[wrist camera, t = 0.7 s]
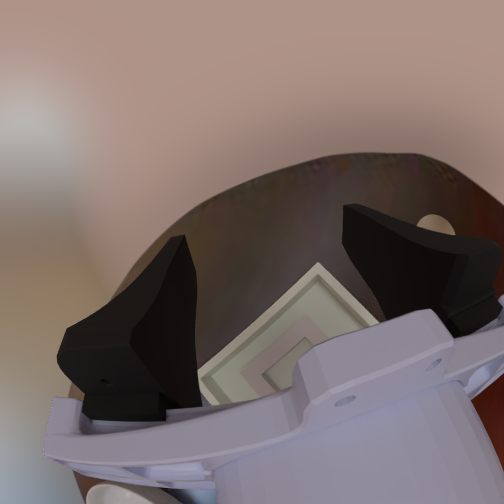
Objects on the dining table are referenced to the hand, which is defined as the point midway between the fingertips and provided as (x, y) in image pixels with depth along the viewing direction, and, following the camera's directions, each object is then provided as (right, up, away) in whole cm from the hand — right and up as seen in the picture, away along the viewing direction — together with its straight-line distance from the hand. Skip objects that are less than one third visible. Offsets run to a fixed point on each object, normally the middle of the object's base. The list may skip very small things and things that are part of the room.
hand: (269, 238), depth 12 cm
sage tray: (+5, -13, +14) cm, 20 cm away
